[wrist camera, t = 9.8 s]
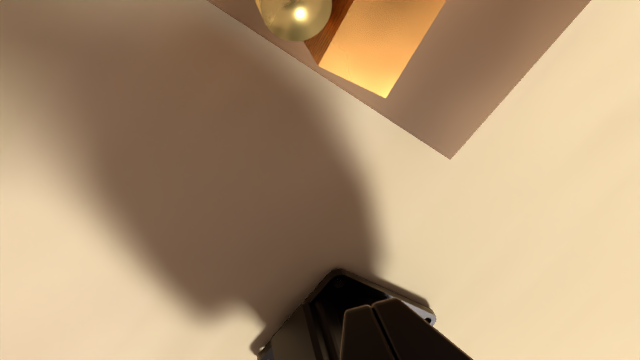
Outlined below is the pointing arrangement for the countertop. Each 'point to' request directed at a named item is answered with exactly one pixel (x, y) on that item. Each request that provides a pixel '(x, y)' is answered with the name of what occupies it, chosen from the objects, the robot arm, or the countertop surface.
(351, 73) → the flange plate
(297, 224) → the countertop surface
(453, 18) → the walnut board
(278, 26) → the dowel pin
